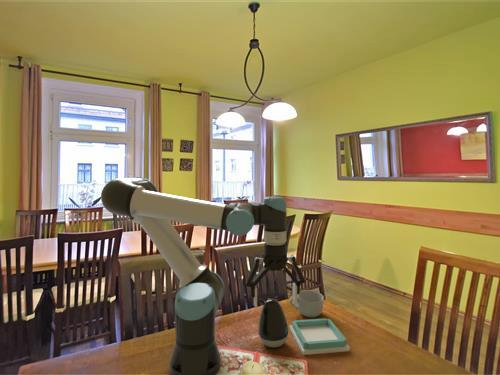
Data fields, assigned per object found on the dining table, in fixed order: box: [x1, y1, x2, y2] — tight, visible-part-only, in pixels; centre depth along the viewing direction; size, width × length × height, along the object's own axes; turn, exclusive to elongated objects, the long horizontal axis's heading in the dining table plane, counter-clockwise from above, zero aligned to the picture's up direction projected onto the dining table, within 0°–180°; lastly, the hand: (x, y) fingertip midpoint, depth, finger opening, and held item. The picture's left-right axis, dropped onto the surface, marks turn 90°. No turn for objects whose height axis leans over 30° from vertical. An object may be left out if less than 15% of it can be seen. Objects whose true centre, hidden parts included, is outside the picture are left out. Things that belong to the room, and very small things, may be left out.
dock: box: [288, 318, 351, 356], centre depth 102 cm, size 16×16×3 cm
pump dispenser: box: [258, 298, 289, 348], centre depth 99 cm, size 10×10×15 cm
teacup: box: [289, 289, 325, 319], centre depth 120 cm, size 14×11×8 cm
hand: (275, 304), depth 98 cm, fingers open, 13 cm apart
